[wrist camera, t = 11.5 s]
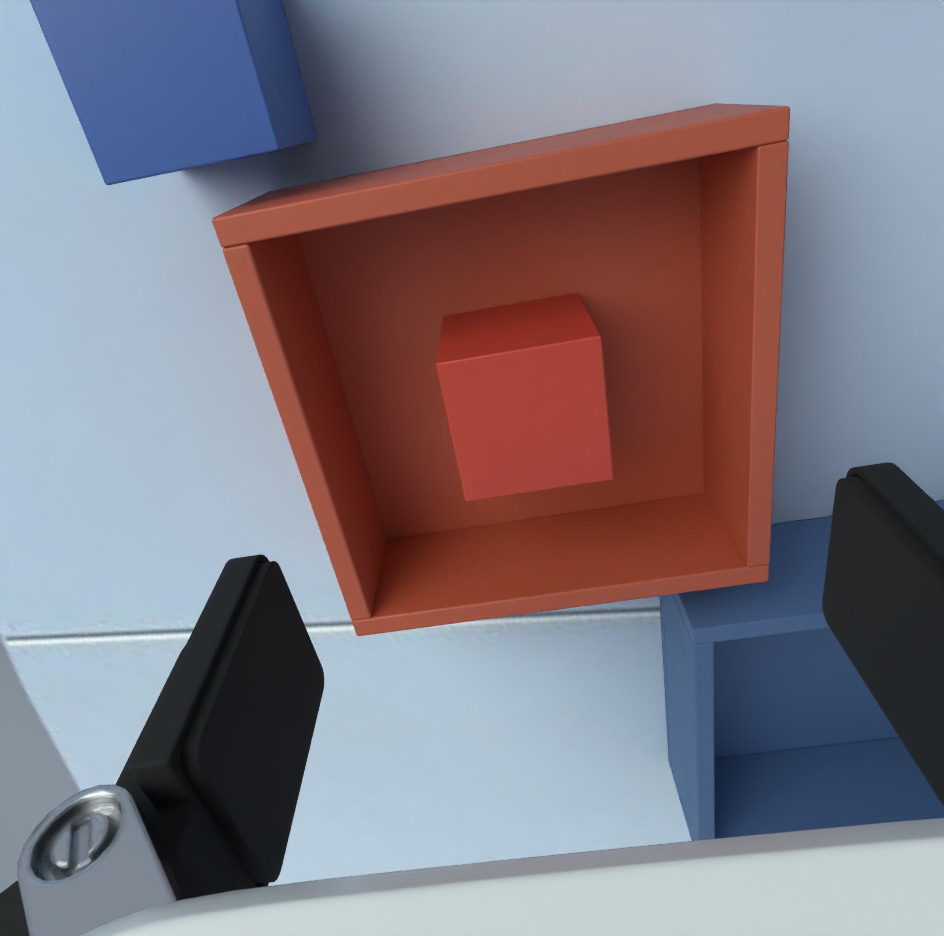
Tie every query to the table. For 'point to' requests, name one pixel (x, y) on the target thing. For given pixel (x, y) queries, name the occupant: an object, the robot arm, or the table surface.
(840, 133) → the table surface
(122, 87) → the blue block
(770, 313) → the red bin
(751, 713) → the blue bin
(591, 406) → the red block
